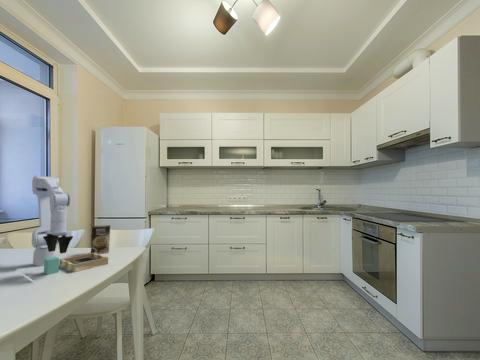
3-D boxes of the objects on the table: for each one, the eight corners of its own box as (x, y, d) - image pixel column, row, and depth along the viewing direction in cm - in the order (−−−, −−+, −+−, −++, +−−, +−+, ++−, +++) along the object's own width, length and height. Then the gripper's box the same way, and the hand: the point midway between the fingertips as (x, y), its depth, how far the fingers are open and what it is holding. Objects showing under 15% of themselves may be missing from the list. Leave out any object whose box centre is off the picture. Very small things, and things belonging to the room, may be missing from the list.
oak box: (59, 267, 111) (59, 259, 111) (92, 260, 124) (93, 252, 124) (73, 274, 103) (73, 265, 103) (107, 265, 116) (108, 257, 116)
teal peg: (43, 275, 102) (44, 258, 102) (54, 272, 105) (55, 256, 106) (47, 277, 100) (48, 260, 100) (58, 274, 103) (59, 258, 103)
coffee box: (90, 256, 131) (91, 227, 132) (91, 253, 137) (92, 225, 138) (109, 254, 136) (110, 226, 136) (109, 251, 141) (110, 224, 142)
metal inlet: (70, 265, 112) (70, 260, 112) (89, 261, 119) (89, 256, 119) (78, 269, 108) (78, 263, 108) (97, 264, 115) (97, 259, 115)
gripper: (38, 221, 103) (36, 252, 102) (59, 222, 98) (58, 256, 97) (55, 219, 110) (54, 249, 109) (76, 221, 104) (75, 252, 104)
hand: (57, 252), depth 103 cm, fingers open, 7 cm apart
